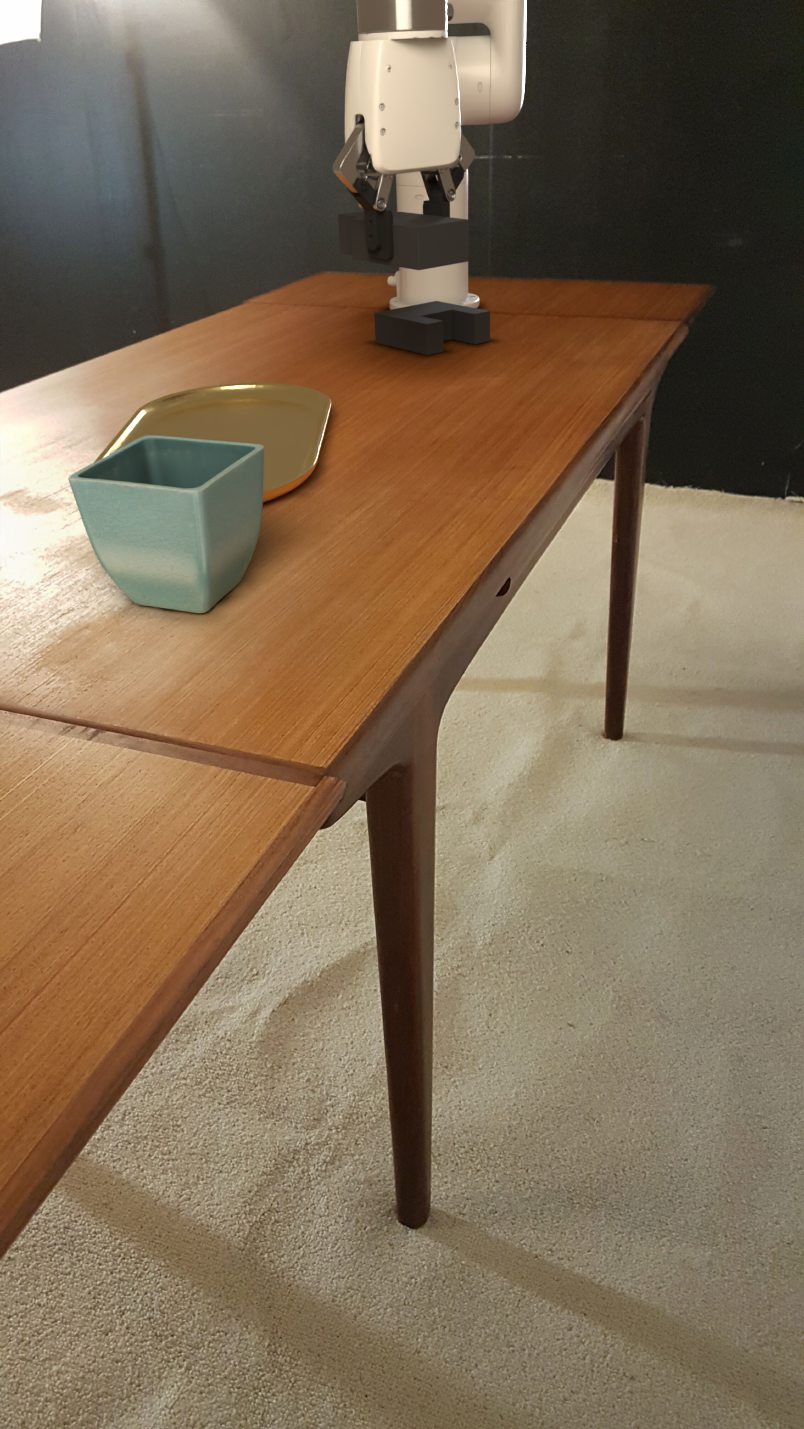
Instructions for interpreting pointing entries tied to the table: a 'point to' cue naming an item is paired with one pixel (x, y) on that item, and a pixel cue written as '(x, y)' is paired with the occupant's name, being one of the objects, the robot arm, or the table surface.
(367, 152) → the robot arm
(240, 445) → the flower pot
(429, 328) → the notch pad
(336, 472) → the table surface
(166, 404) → the serving platter
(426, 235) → the pad
